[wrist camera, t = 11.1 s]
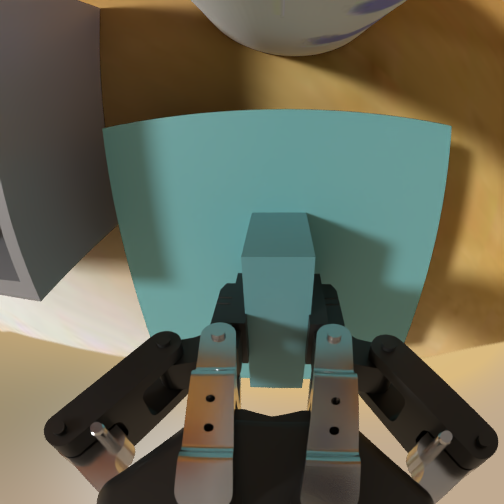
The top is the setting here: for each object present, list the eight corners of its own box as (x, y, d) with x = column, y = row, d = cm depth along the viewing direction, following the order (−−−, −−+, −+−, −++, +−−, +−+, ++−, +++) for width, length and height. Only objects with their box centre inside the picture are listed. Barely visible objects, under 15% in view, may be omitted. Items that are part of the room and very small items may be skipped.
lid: (430, 121, 12) (505, 141, 7) (384, 351, 20) (403, 420, 14) (123, 123, 14) (47, 144, 8) (170, 348, 21) (145, 415, 16)
